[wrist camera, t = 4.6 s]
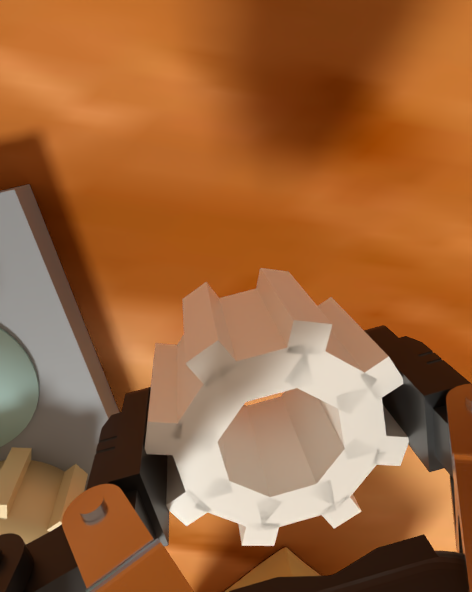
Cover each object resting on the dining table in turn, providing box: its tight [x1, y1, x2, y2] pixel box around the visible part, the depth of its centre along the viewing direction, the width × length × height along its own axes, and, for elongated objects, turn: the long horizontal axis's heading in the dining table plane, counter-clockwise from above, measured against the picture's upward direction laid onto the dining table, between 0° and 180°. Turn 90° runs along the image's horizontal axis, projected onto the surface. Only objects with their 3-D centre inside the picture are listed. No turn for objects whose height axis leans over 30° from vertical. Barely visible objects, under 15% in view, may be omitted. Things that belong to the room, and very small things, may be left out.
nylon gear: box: [145, 268, 409, 546], centre depth 12 cm, size 6×6×4 cm
